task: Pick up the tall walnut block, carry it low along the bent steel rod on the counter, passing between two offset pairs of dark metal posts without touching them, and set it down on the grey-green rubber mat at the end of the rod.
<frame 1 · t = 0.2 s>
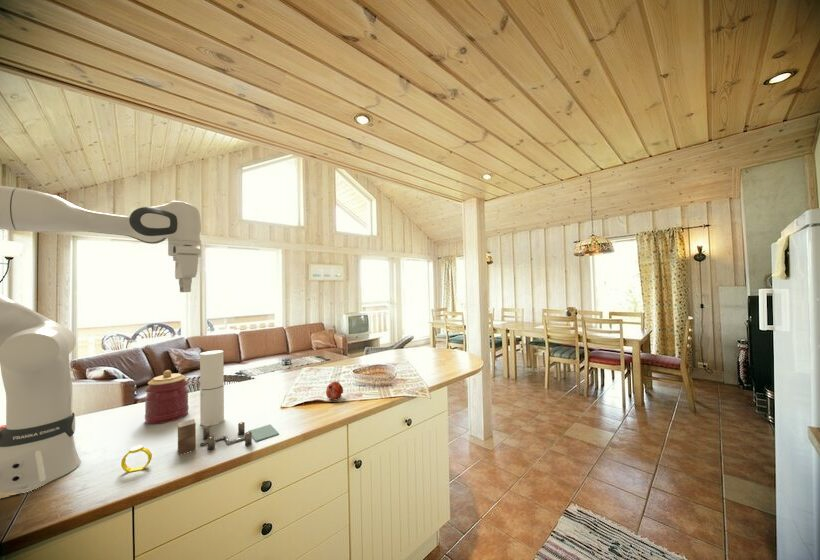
hand: (185, 292, 100), 47 cm above the kitchen counter, tool pointing down, fingers open, 8 cm apart
mat: (263, 433, 99), on the kitchen counter
gates: (226, 441, 95), on the kitchen counter
pomegranate: (335, 399, 129), on the kitchen counter
block: (186, 450, 90), on the kitchen counter
cylindrical container: (212, 422, 109), on the kitchen counter
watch: (136, 470, 80), on the kitchen counter
wire: (226, 441, 95), on the kitchen counter
canister: (167, 417, 114), on the kitchen counter
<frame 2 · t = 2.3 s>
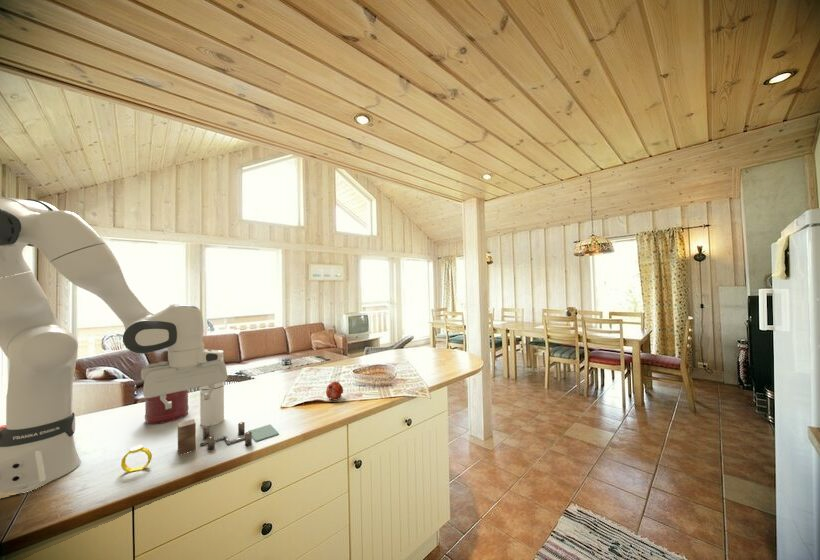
hand: (188, 403, 91), 14 cm above the kitchen counter, tool pointing down, fingers open, 8 cm apart
nothing on the kitchen counter moved.
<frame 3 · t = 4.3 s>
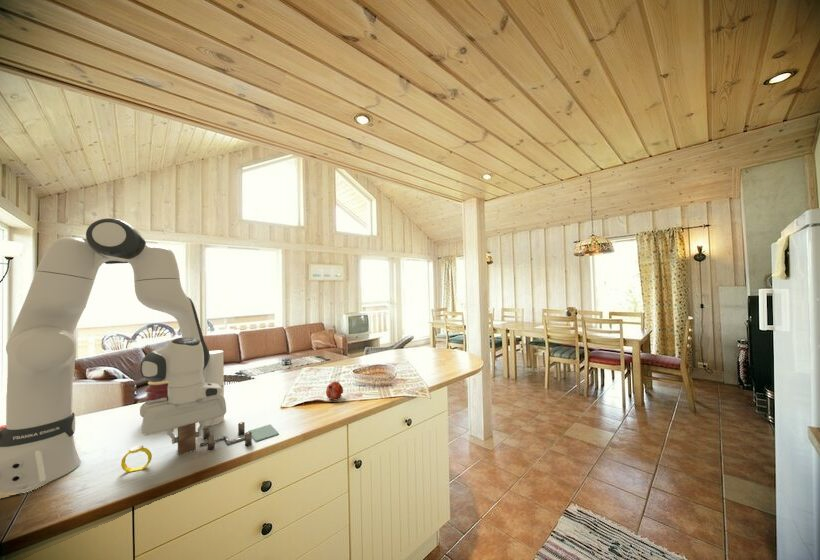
hand: (186, 439, 90), 3 cm above the kitchen counter, tool pointing down, fingers closed on block, 4 cm apart
block: (186, 450, 90), on the kitchen counter, touching gripper
everything else where it was.
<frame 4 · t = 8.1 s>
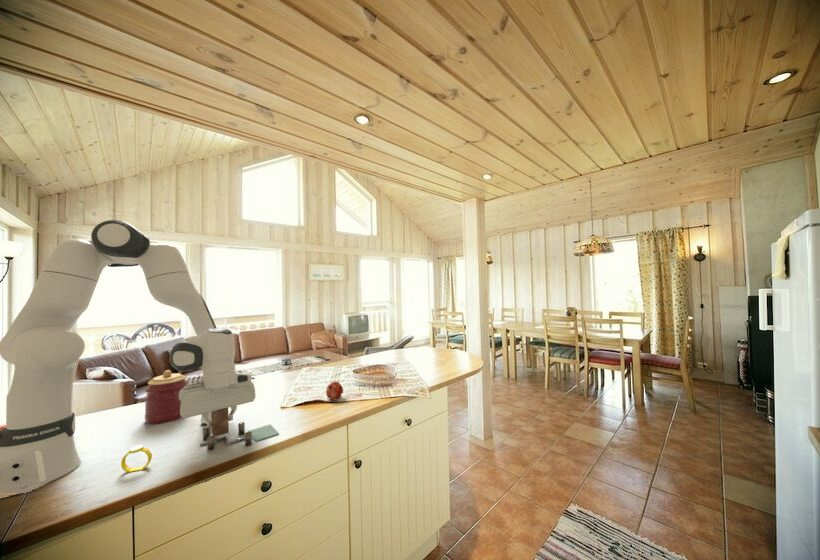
hand: (220, 422, 96), 5 cm above the kitchen counter, tool pointing down, fingers closed on block, 4 cm apart
block: (220, 432, 96), point 2 cm above the kitchen counter, touching gripper
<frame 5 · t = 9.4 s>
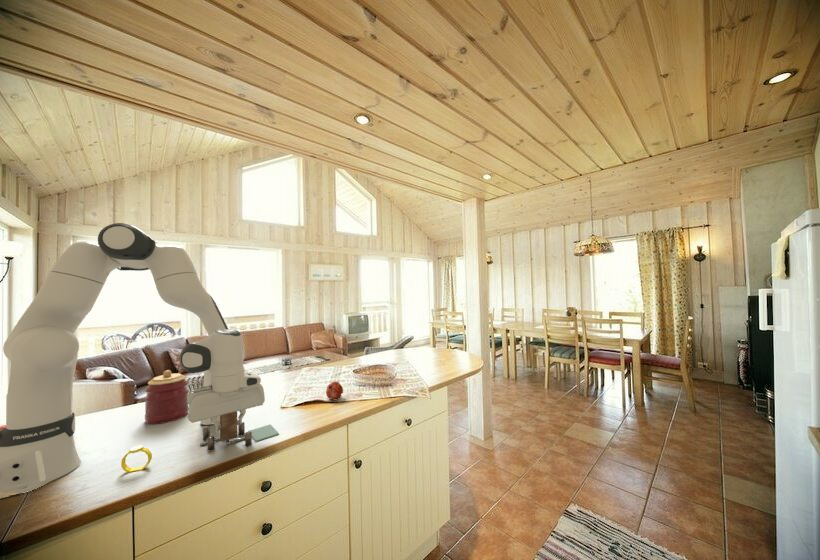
hand: (228, 427, 93), 5 cm above the kitchen counter, tool pointing down, fingers closed on block, 4 cm apart
block: (228, 437, 93), point 2 cm above the kitchen counter, touching gripper
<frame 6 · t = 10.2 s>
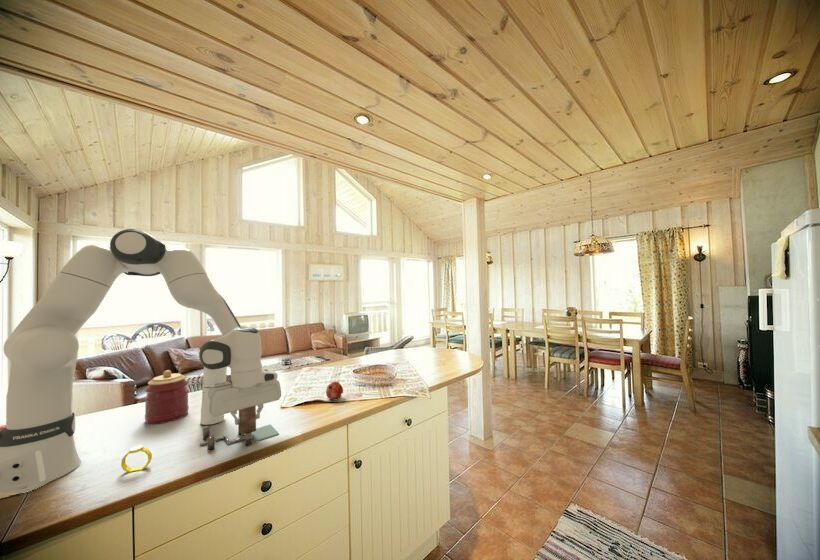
hand: (247, 421, 96), 5 cm above the kitchen counter, tool pointing down, fingers closed on block, 4 cm apart
block: (247, 430, 97), point 2 cm above the kitchen counter, touching gripper
everything else where it was.
when the fingers open (4 cm above the kitchen counter, at t = 11.7 s): block stays where it is, resting on mat.
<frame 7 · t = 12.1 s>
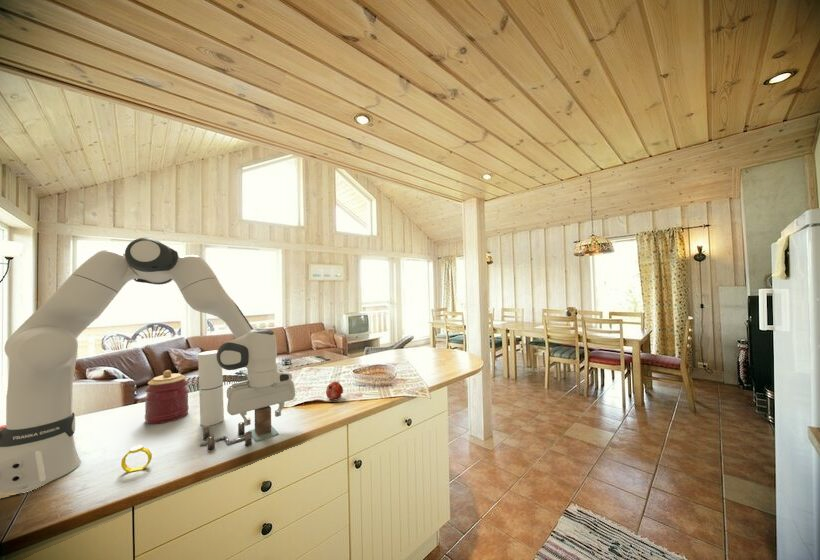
hand: (263, 420, 99), 4 cm above the kitchen counter, tool pointing down, fingers open, 8 cm apart
block: (263, 431, 99), resting on mat
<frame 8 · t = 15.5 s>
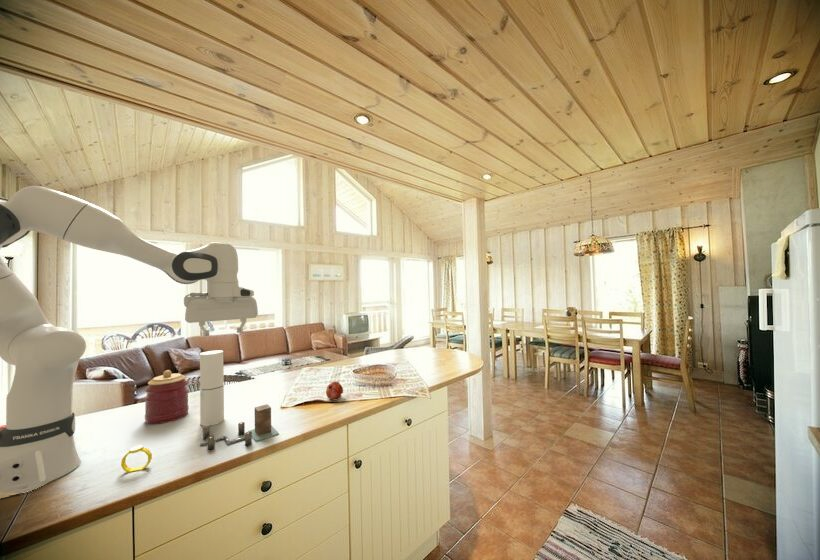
hand: (223, 334, 99), 33 cm above the kitchen counter, tool pointing down, fingers open, 8 cm apart
nothing on the kitchen counter moved.
at the end: block inside the target area on the mat (0.2 cm from its centre), point 0.4 cm above the mat's base; block tilted 0°; the gripper is holding nothing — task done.
